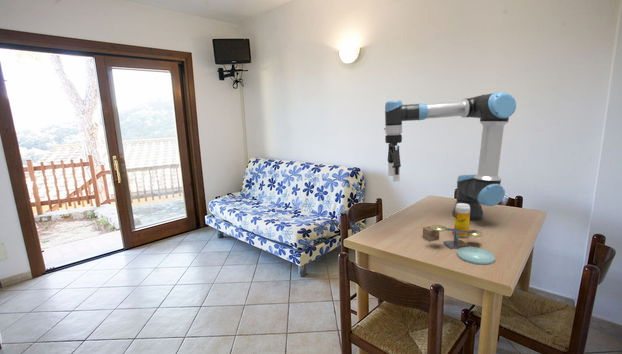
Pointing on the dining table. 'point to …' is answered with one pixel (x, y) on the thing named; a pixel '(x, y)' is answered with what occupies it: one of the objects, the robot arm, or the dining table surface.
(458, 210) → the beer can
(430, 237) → the walnut block
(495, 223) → the dining table surface
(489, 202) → the robot arm
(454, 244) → the balance
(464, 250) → the dish
